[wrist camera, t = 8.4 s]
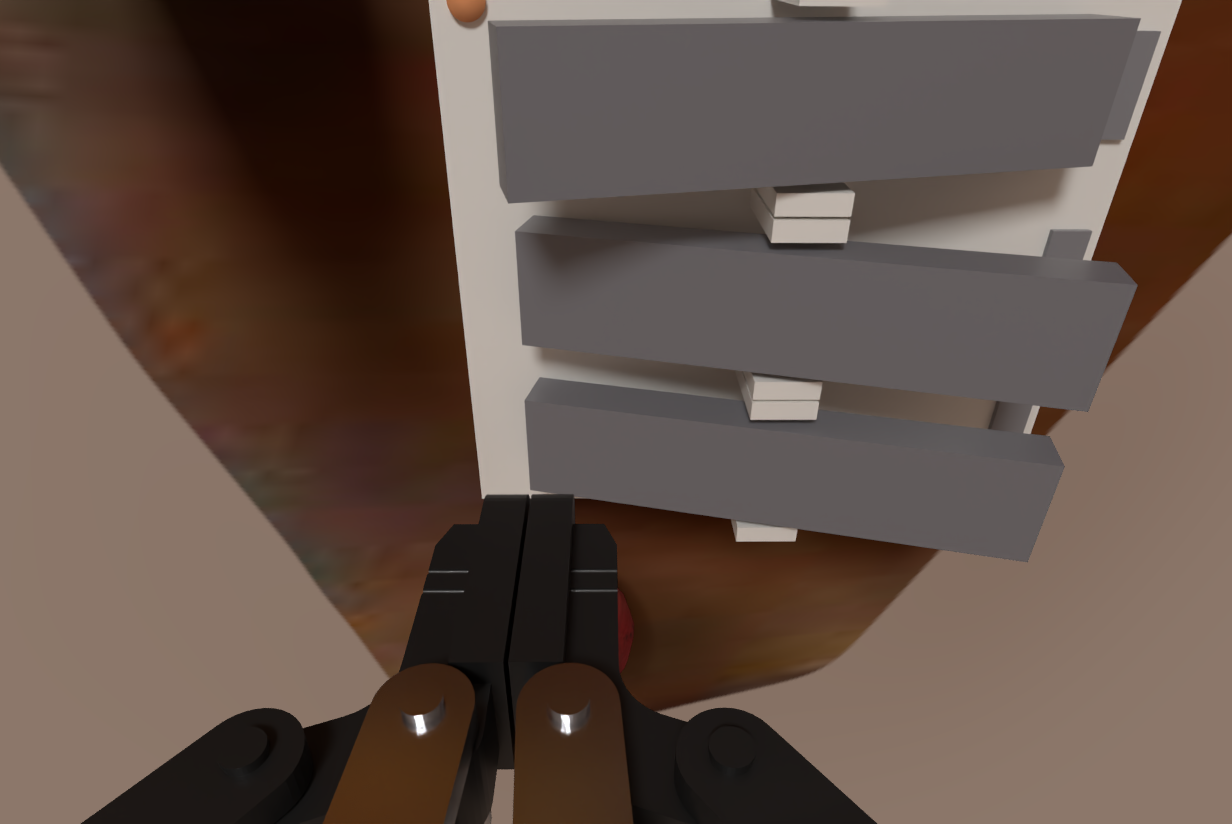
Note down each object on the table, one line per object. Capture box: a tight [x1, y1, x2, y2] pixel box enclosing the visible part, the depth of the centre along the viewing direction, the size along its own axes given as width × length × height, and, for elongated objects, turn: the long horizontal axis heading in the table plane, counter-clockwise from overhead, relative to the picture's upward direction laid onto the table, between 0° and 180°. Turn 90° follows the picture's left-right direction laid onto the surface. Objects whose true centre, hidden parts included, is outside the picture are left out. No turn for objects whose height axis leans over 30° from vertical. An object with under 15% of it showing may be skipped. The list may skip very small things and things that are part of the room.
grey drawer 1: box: [488, 14, 1141, 204], centre depth 19 cm, size 4×16×2 cm, turn 90°
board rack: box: [429, 0, 1182, 542], centre depth 25 cm, size 18×20×8 cm
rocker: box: [515, 215, 1137, 412], centre depth 21 cm, size 4×16×2 cm, turn 90°
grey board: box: [524, 377, 1065, 562], centre depth 24 cm, size 4×16×2 cm, turn 90°
